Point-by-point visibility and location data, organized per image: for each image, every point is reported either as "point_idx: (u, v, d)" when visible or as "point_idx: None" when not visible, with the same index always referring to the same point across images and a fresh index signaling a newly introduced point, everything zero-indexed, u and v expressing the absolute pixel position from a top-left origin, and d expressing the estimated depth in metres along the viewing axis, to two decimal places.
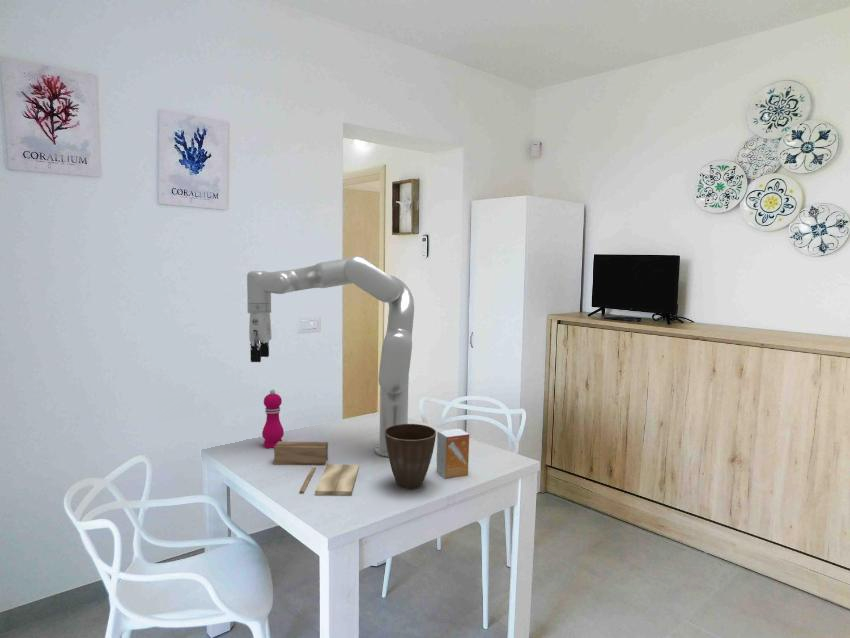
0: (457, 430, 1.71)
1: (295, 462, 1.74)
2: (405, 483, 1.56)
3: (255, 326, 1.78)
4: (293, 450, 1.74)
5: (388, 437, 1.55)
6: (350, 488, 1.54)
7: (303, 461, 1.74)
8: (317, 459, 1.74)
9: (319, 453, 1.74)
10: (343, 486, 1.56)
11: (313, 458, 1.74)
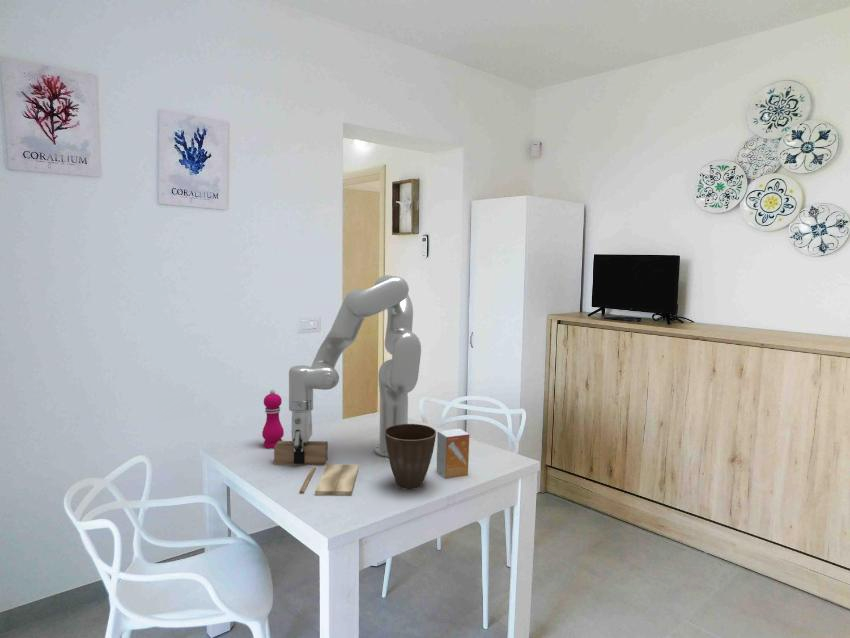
0: (458, 430, 1.71)
1: None
2: (405, 483, 1.56)
3: (298, 426, 1.71)
4: (293, 450, 1.74)
5: (388, 437, 1.55)
6: (350, 488, 1.54)
7: None
8: (317, 459, 1.74)
9: (319, 453, 1.74)
10: (343, 486, 1.56)
11: (313, 458, 1.74)
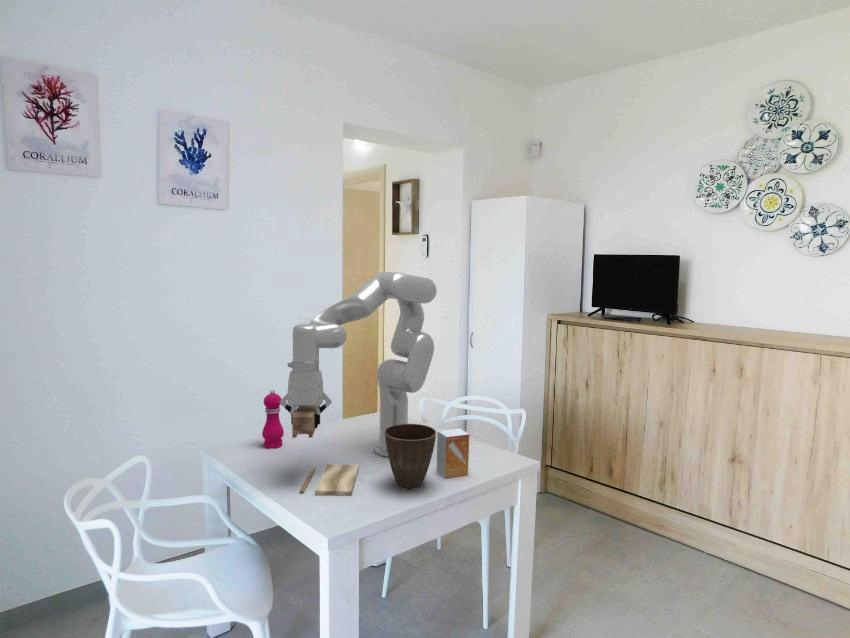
0: (458, 430, 1.71)
1: None
2: (405, 483, 1.56)
3: None
4: None
5: (388, 437, 1.55)
6: (350, 488, 1.54)
7: None
8: None
9: None
10: (343, 486, 1.56)
11: None
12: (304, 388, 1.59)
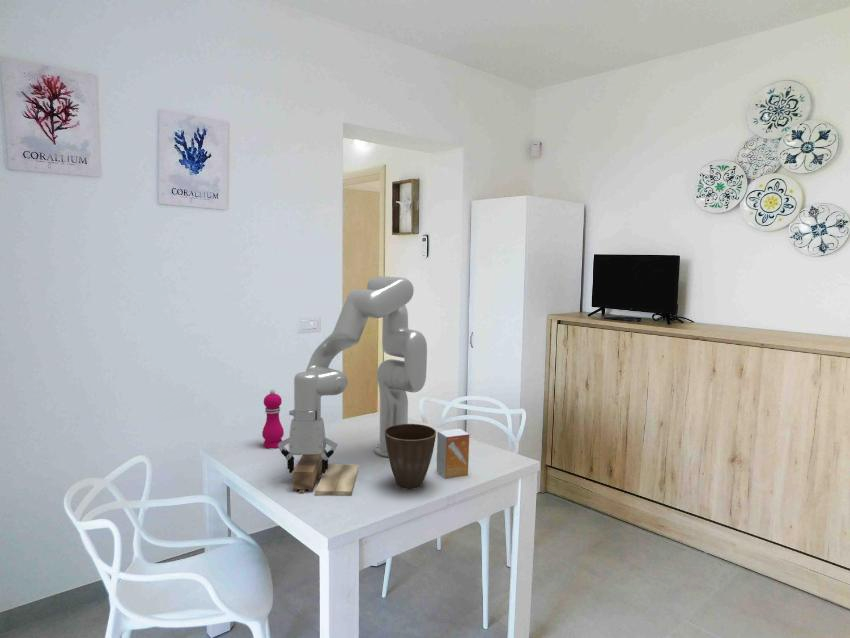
0: (458, 430, 1.71)
1: None
2: (405, 483, 1.56)
3: None
4: None
5: (388, 437, 1.55)
6: (350, 488, 1.54)
7: None
8: None
9: None
10: (343, 486, 1.56)
11: None
12: (305, 437, 1.58)
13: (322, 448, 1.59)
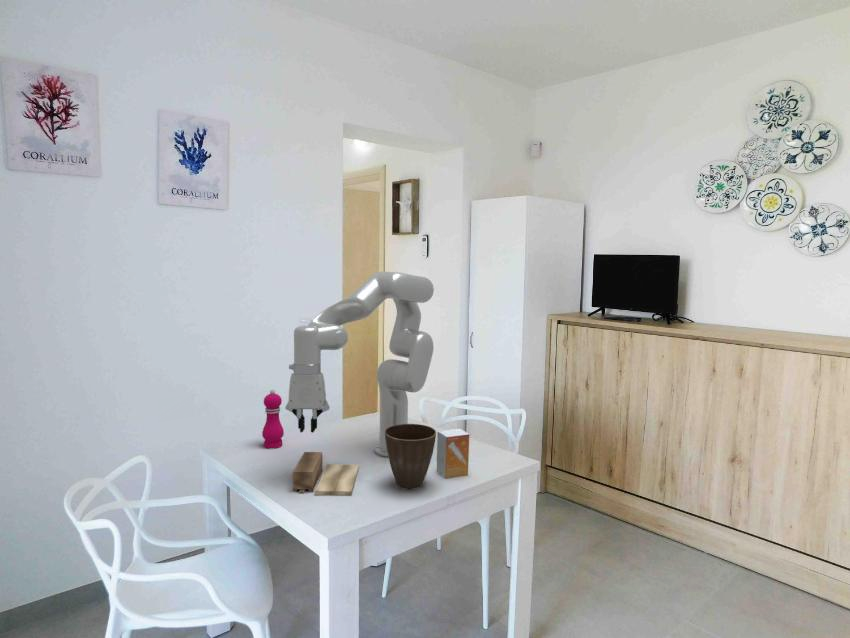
0: (458, 430, 1.71)
1: None
2: (405, 483, 1.56)
3: None
4: None
5: (388, 437, 1.55)
6: (350, 488, 1.54)
7: None
8: None
9: None
10: (343, 486, 1.56)
11: None
12: (305, 391, 1.57)
13: (322, 402, 1.57)
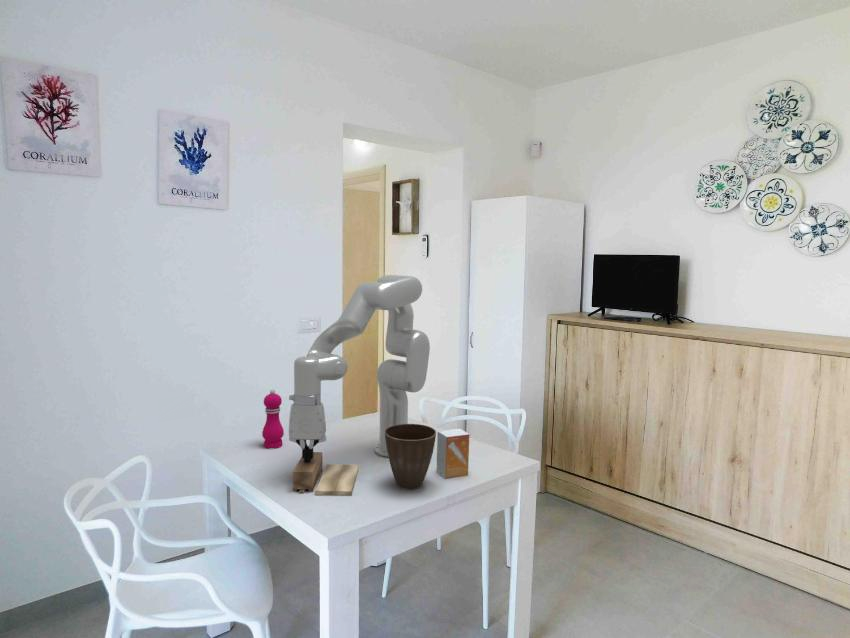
0: (458, 430, 1.71)
1: None
2: (405, 483, 1.56)
3: None
4: None
5: (388, 437, 1.55)
6: (350, 488, 1.54)
7: None
8: None
9: None
10: (343, 486, 1.56)
11: None
12: (305, 422, 1.58)
13: (322, 433, 1.58)
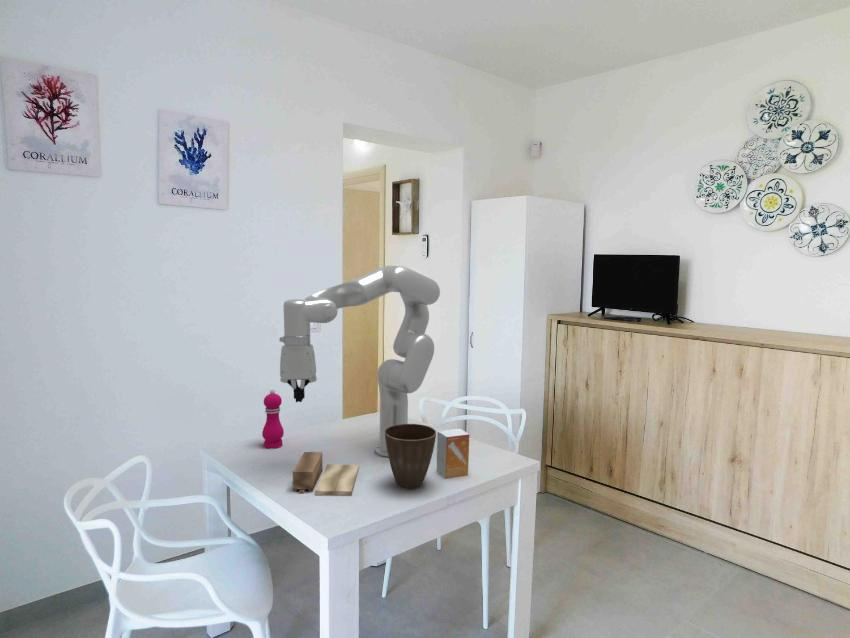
0: (458, 430, 1.71)
1: None
2: (405, 483, 1.56)
3: None
4: None
5: (388, 437, 1.55)
6: (350, 488, 1.54)
7: None
8: None
9: None
10: (343, 486, 1.56)
11: None
12: (296, 362, 1.62)
13: (313, 372, 1.63)
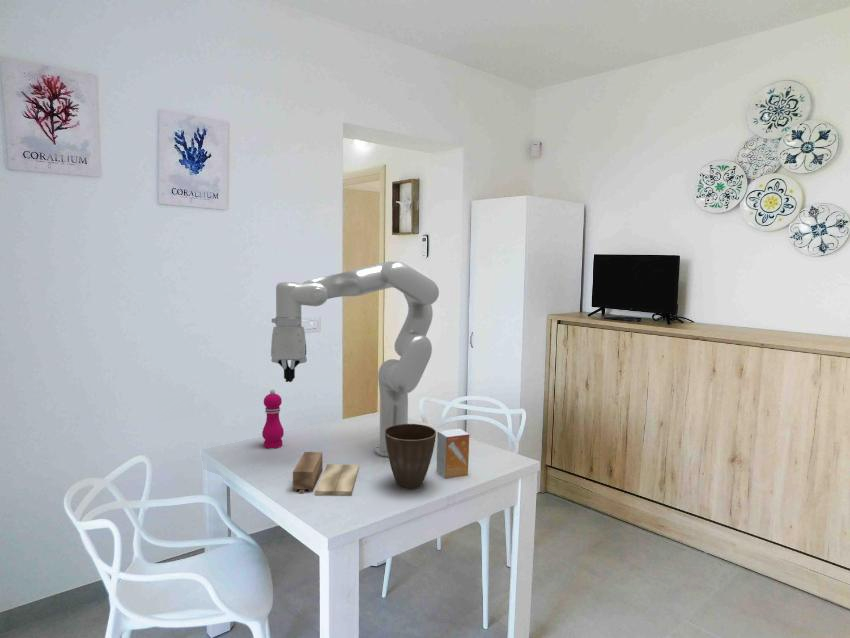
0: (458, 430, 1.71)
1: None
2: (405, 483, 1.56)
3: None
4: None
5: (388, 437, 1.55)
6: (350, 488, 1.54)
7: None
8: None
9: None
10: (343, 486, 1.56)
11: None
12: (286, 342, 1.67)
13: (302, 353, 1.68)
